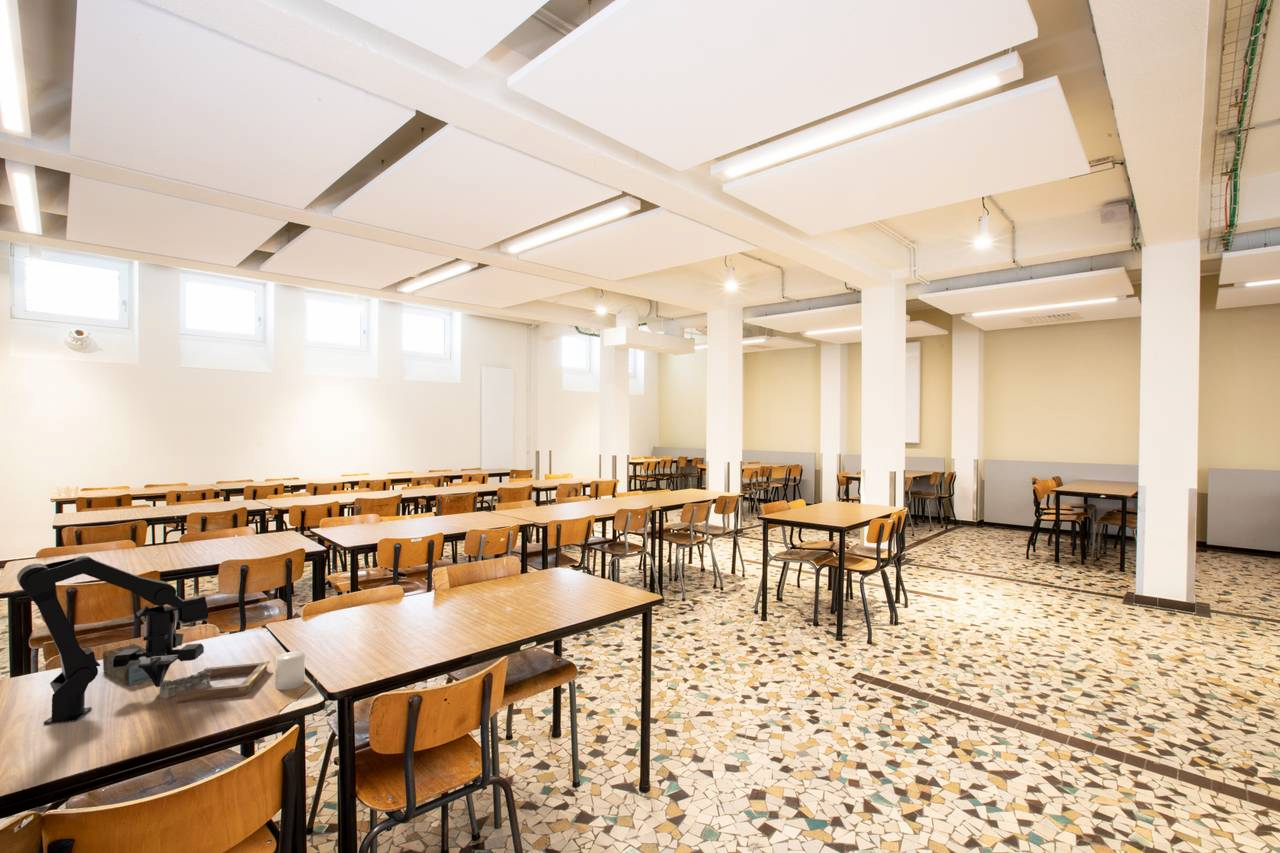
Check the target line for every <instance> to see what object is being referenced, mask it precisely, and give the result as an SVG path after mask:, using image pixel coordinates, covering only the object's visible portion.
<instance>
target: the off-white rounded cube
mask: <svg viewBox="0 0 1280 853" xmlns="http://www.w3.org/2000/svg"><path fill="white" fill-rule="evenodd" d="M305 660H306V654H305V652H304V651H299V650H296V651H290V652H284V653H282V654H279V655H277V656H276V657H275V674H274V676H275V678H274V679H275V682H274V685H275V686H274V688H275V690H278V691H287V690H288V691H289V690H294V689H297V688H299V687H301V686H303V685H304V684H305V668H306V667H305V665H306V664H305V662H306V661H305Z"/></svg>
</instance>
